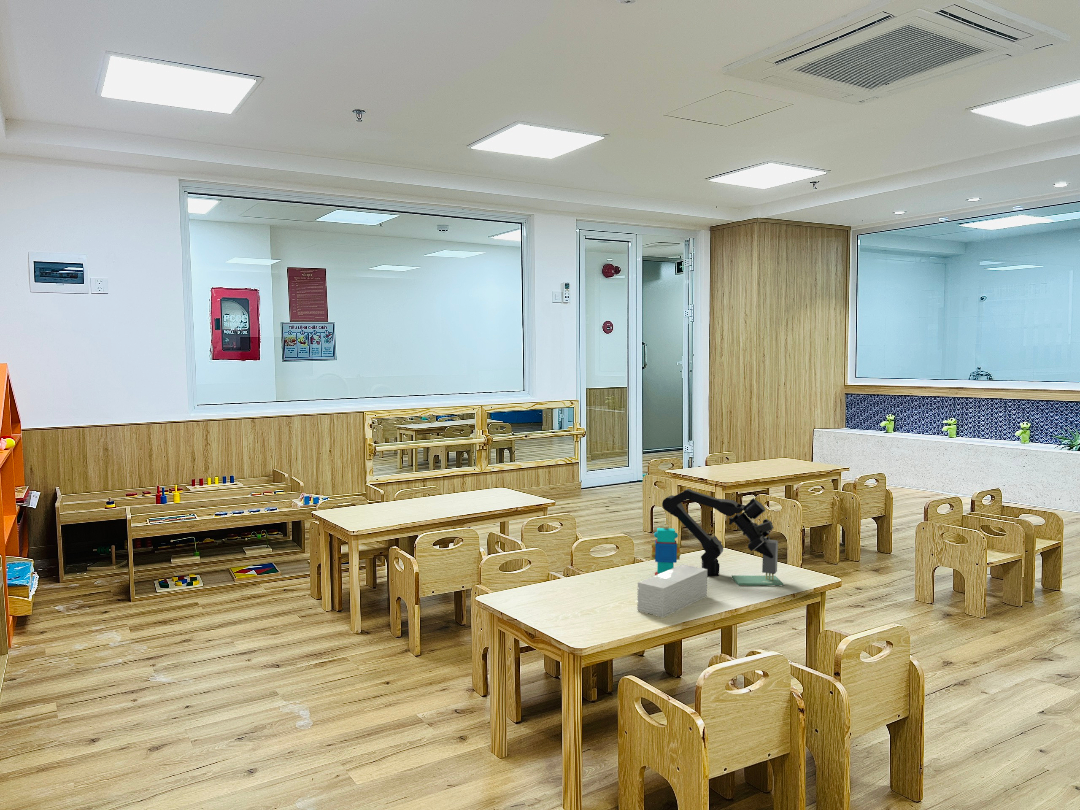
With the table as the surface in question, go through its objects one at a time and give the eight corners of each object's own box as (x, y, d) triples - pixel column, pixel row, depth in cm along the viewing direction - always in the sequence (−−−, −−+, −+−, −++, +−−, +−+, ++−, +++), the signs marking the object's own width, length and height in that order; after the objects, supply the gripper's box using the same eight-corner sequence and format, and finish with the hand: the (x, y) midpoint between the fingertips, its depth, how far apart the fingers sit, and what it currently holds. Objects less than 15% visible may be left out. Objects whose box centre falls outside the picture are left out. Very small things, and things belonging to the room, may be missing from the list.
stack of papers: (662, 618, 276) (663, 588, 275) (637, 611, 283) (637, 582, 282) (706, 596, 301) (707, 569, 300) (682, 591, 307) (682, 564, 307)
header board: (738, 585, 314) (738, 577, 314) (731, 577, 325) (731, 569, 325) (783, 586, 314) (783, 577, 314) (775, 578, 325) (775, 569, 325)
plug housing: (762, 572, 318) (763, 541, 317) (764, 569, 323) (765, 539, 322) (774, 574, 316) (776, 543, 315) (776, 570, 320) (778, 540, 320)
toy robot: (678, 577, 324) (680, 518, 322) (679, 582, 318) (681, 521, 316) (650, 576, 325) (651, 517, 324) (651, 581, 319) (652, 520, 318)
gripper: (757, 518, 311) (785, 549, 307) (765, 509, 328) (792, 538, 324) (736, 535, 315) (763, 566, 311) (745, 526, 332) (771, 555, 328)
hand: (773, 556), depth 318 cm, fingers closed on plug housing, 5 cm apart
